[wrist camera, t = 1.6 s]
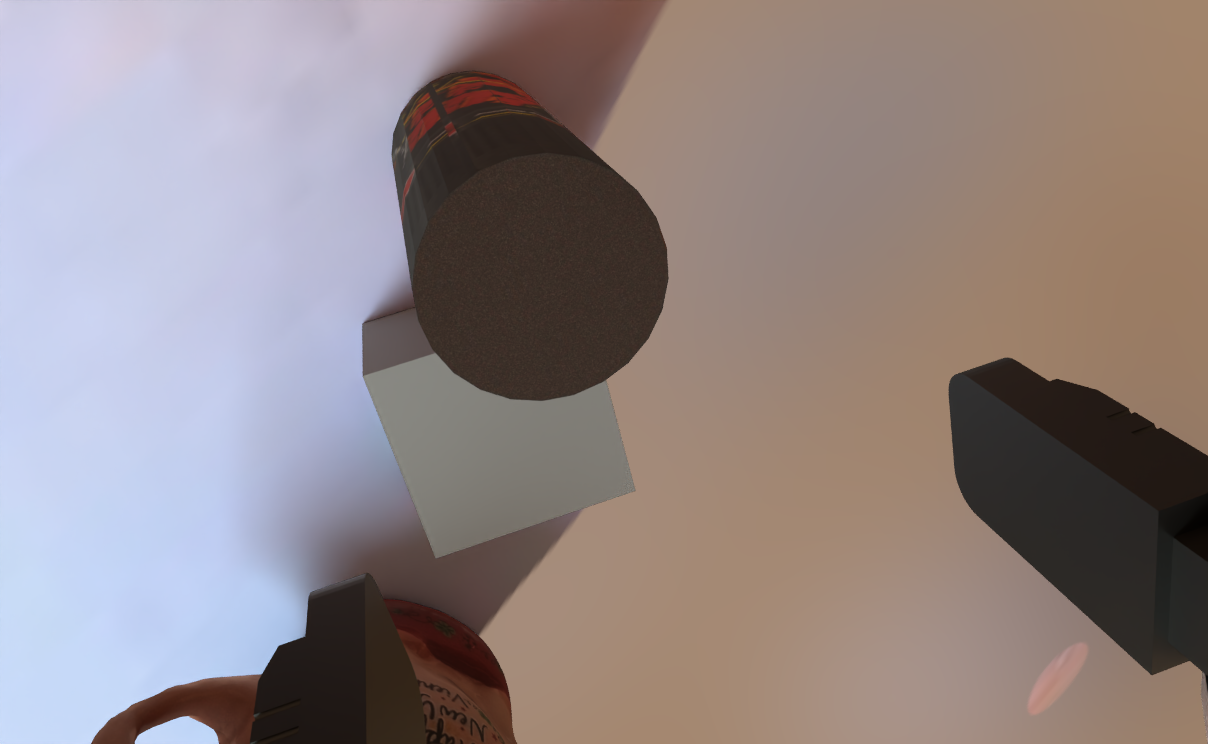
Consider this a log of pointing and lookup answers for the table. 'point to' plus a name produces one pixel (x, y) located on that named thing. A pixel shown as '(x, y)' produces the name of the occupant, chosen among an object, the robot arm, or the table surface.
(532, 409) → the grey block
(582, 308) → the deodorant
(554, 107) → the table surface
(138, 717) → the decorated ceramic mug
